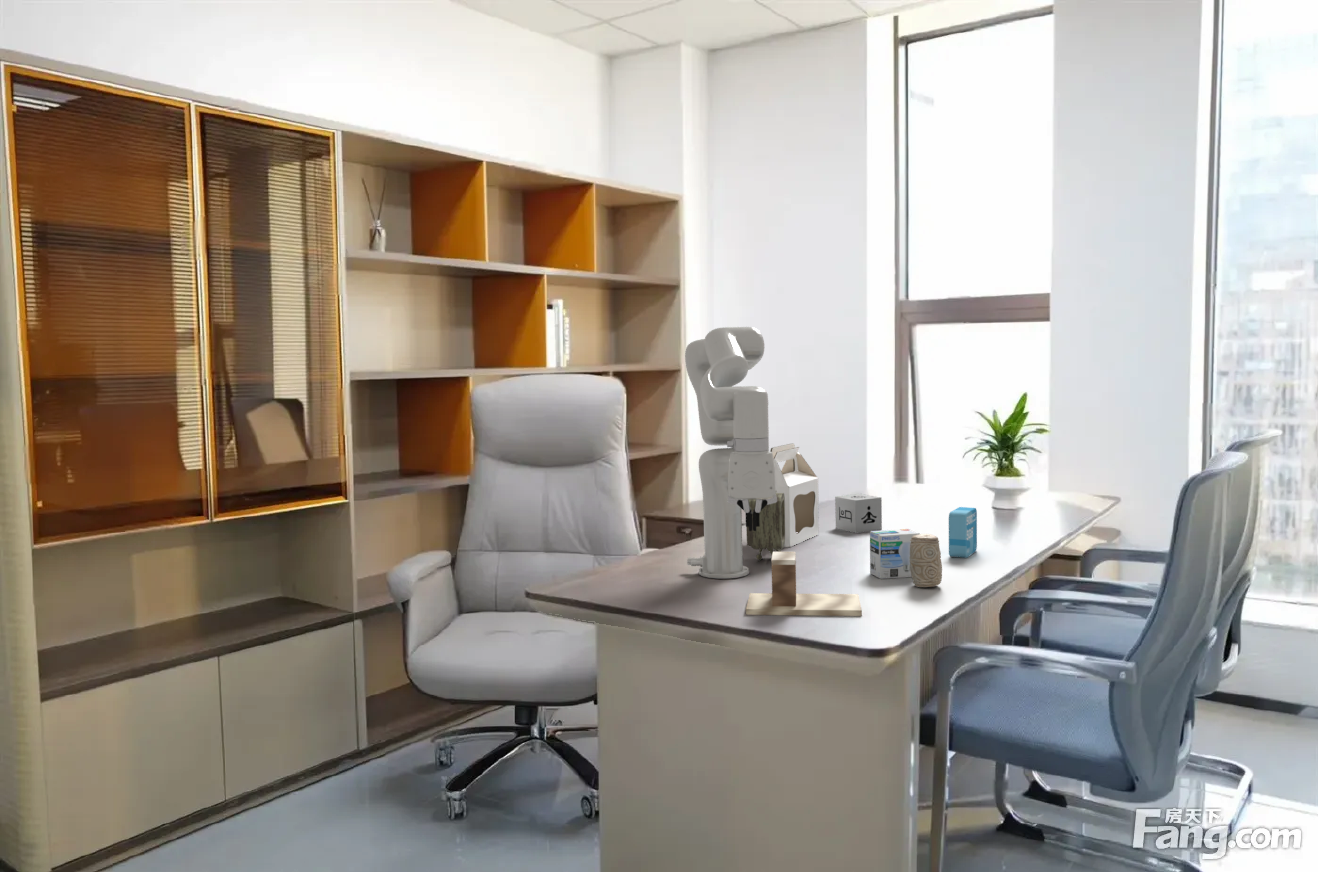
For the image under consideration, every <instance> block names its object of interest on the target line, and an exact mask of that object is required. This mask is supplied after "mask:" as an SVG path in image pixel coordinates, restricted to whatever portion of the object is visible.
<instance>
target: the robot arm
mask: <svg viewBox="0 0 1318 872" xmlns="http://www.w3.org/2000/svg"><path fill="white" fill-rule="evenodd" d="M764 352H765V340H764V337H763V334H762V332H761V331H760V330H759V329H757V328H755V327H752V326H740V327H739V326H737V327H736V326H732V327H731V326H730V327H729V326H727V327H726V326H725V327H717V328H714V329H712V330H710V331H709V332H707V334H706V335H705V338H703V339H697V340H693V341H691V342H689V343H688V344H687V346H686V347H685V351H684V359H685V368H686V373H687V376H688V377H689V381H690V383H691V386H692V387H693V390H694V392H695V395H696V401H697V411H698V419H699V420H698V421H699V428H700V435H701V439H702V440H703V442H704V443H705V445H709V446H717V447H718V446H720V447H721V446H726V447H722V448H720V447H719V448H712V449H708V450H705V451H704V452H702V454H701V455H700V457H699V460H698V472H699V477H700V483H701V492H702V504H703V505H702V508H703V509H702V510H703V512H702V513H703V535H704V537H703V538H704V539H703V541H704V542H703V543H704V545H703V547H704V548H703V549H704V554H703V555H702V556H699V557H687V559H686V560H687V561H686V563H687V564H686V565H687V566H691V567H700V568H698V574H699V576H701V577H704V578H708V579H725V580H726V579H736V578H737V579H738V578H742V577H746V576H748V575H749V573H750V570H749V569H750V568H749V567H747V566H745V565H743V561H744V560H743V528H742V527H743V523H742V522H743V521H742V519H743V518H742V517H743V515H742V514H743V513H742V510H743V512H744V513H745V527H749V531H752V529H753V531H756V529H757V527H760V518H759V512H760V511H761V510H762V509H763V508H764V507H765V506H766V505H768V504H773V503H776V502H777V497H776V479H775V466H774V459H773V454H772V452H770V447H769V446H770V445H769V444H770V441H769V440H770V439H769V436H770V435H769V433H770V432H769V429H770V427H769V394H768V392H767V390H765V389H763V388H762V387H760V386H756V385H755V386H754V385H747V386H746V385H745V386H737V385H738V384H740V383H741V382H742V381H744V379H745V378H746V376H747V375H748V372H749V370H752V369H753V368H754V367H755V366H756V365H757V364H759V362H761V360H762V358H763V357H764ZM748 499H756V506H755V508H754V512H753V526H752V512H751V508H750V506H749V500H748ZM762 499H763V500H762Z"/></svg>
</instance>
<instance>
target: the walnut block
mask: <svg viewBox="0 0 1318 872" xmlns="http://www.w3.org/2000/svg"><path fill="white" fill-rule="evenodd" d="M796 553H797V552H796V551H781V552H776V551H773V553H772V555H771V559H770V560H771V593H772V606H795V607H796V594H797V565H796V563H797V560H796V558H797V554H796Z"/></svg>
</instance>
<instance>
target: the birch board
mask: <svg viewBox="0 0 1318 872" xmlns="http://www.w3.org/2000/svg"><path fill="white" fill-rule="evenodd" d="M748 595H749V596H748V600H747V604H746V608H745V615H747V616H748V615H749V616H750V615H753V616H821V617H822V616H831V617H833V616H834V617H835V616H836V617H837V616H838V617H862V616H863V615H862V614H863V613H862V612H863V609H862V605H861V600H860V595H859V593H857V594H856V593H796V607H795V606H772V592H771V593H770V592H769V593H766V592H765V593H761V592H760V593H758V592H757V593H756V592H755V593H754V592H750V593H749V594H748Z"/></svg>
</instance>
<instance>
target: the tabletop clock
mask: <svg viewBox="0 0 1318 872" xmlns="http://www.w3.org/2000/svg"><path fill="white" fill-rule="evenodd" d="M776 492H777V491H776ZM776 497H777V502H776V503H773V504H768V505H766V506H765V507H764V508H763V509H762V510H761V511H760V512H759V518H760V527H757V529H756V531H753V529H752V531H749V527H746V526H745V527H746V529H745V530H746V531H745V532H746V545H747V546H748V547H750V548H752V549H753V550H759V551H758V553H757V555H756V556H755V558H756V560H757V561H761V560H762V559H763V555H762V552H763V550H767V551H768V552H769V553H770V555H771V556H772V553H773V552H774V550H775V552H782V551H781V550H783V549H784V548H785V547H784V544H785V497H784V493H776ZM748 500H749V506H750V508H751V512H752V526H753V512H754V508H755V506H756V499H748ZM762 500H763V499H762Z"/></svg>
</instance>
